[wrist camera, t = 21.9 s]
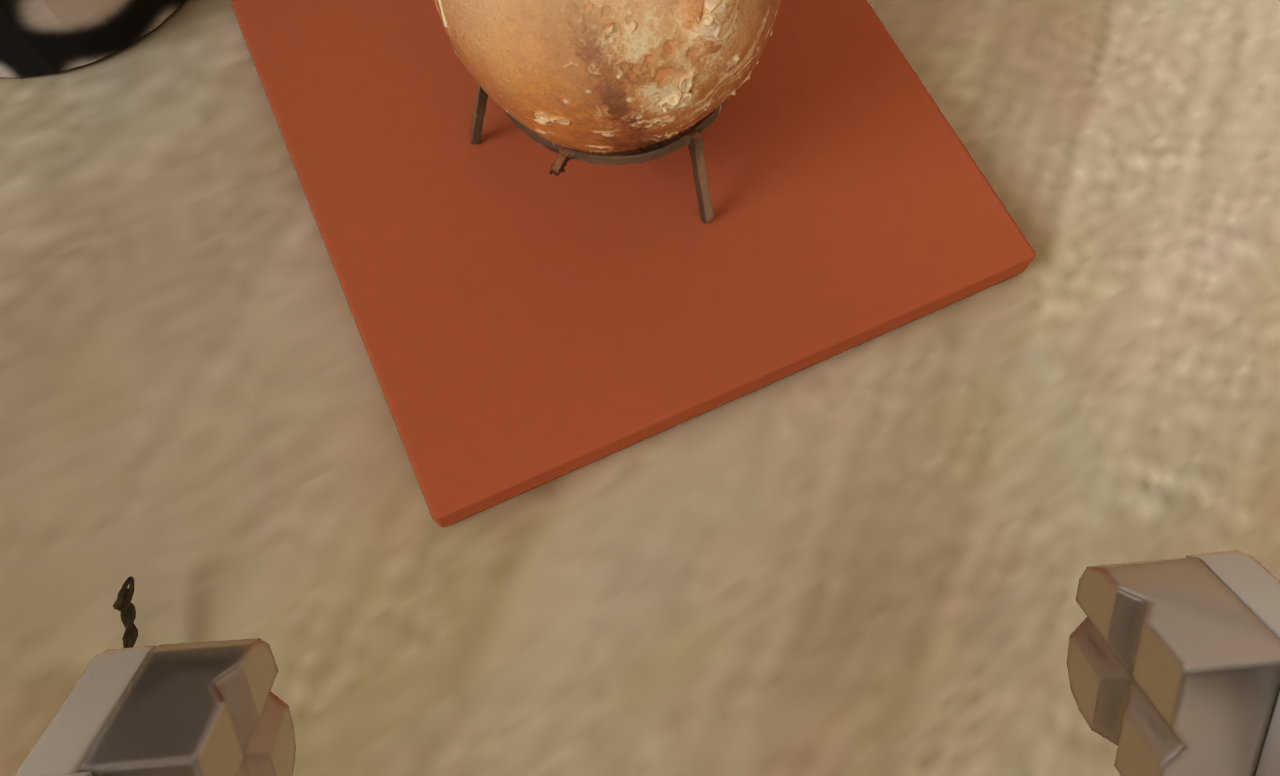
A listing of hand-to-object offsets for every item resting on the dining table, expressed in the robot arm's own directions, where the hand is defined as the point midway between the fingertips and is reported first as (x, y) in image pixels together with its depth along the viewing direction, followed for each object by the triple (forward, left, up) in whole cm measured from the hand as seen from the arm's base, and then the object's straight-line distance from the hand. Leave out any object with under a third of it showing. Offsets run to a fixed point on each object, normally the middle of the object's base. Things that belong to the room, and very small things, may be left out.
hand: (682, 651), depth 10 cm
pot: (-11, +4, -8) cm, 14 cm away
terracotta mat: (-11, +4, -8) cm, 14 cm away
